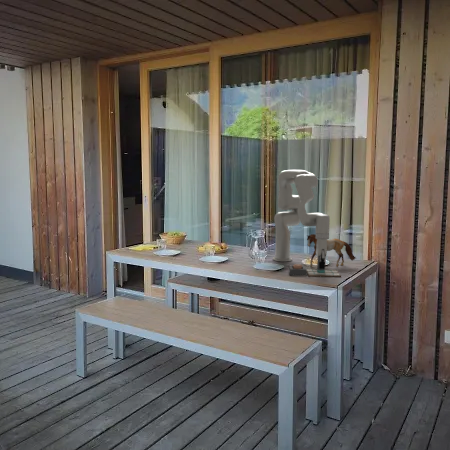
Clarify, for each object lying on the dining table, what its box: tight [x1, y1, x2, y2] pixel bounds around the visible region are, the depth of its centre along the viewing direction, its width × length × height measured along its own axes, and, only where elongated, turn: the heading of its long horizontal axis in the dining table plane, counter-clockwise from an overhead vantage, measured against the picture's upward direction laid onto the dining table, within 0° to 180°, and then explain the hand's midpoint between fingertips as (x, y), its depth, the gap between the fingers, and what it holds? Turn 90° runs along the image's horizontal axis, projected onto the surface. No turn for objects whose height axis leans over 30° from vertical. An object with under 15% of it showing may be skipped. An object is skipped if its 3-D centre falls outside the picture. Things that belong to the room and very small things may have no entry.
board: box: [306, 268, 342, 278], centre depth 268 cm, size 15×18×1 cm
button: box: [292, 263, 303, 269], centre depth 268 cm, size 5×5×2 cm
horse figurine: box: [306, 233, 357, 267], centre depth 286 cm, size 31×8×21 cm, turn 96°
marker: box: [316, 255, 327, 273], centre depth 267 cm, size 5×5×12 cm
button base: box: [288, 265, 308, 276], centre depth 268 cm, size 9×9×4 cm
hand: (321, 267), depth 268 cm, fingers closed on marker, 4 cm apart
